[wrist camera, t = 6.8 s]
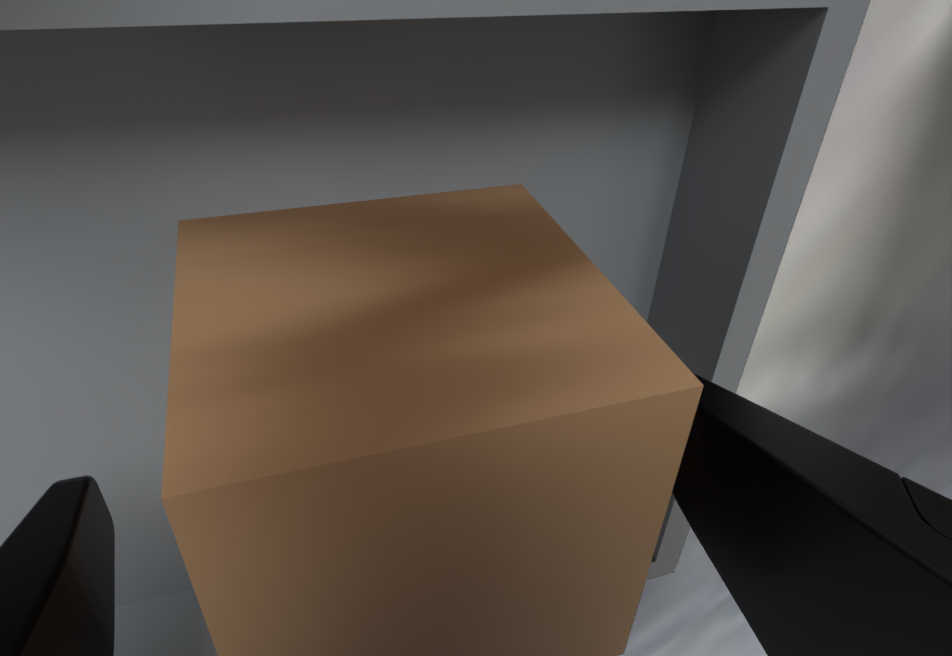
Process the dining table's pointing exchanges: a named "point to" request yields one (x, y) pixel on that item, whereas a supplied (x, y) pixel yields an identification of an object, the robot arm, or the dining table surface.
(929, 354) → the dining table surface
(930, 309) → the dining table surface
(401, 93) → the tray
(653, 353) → the walnut block
